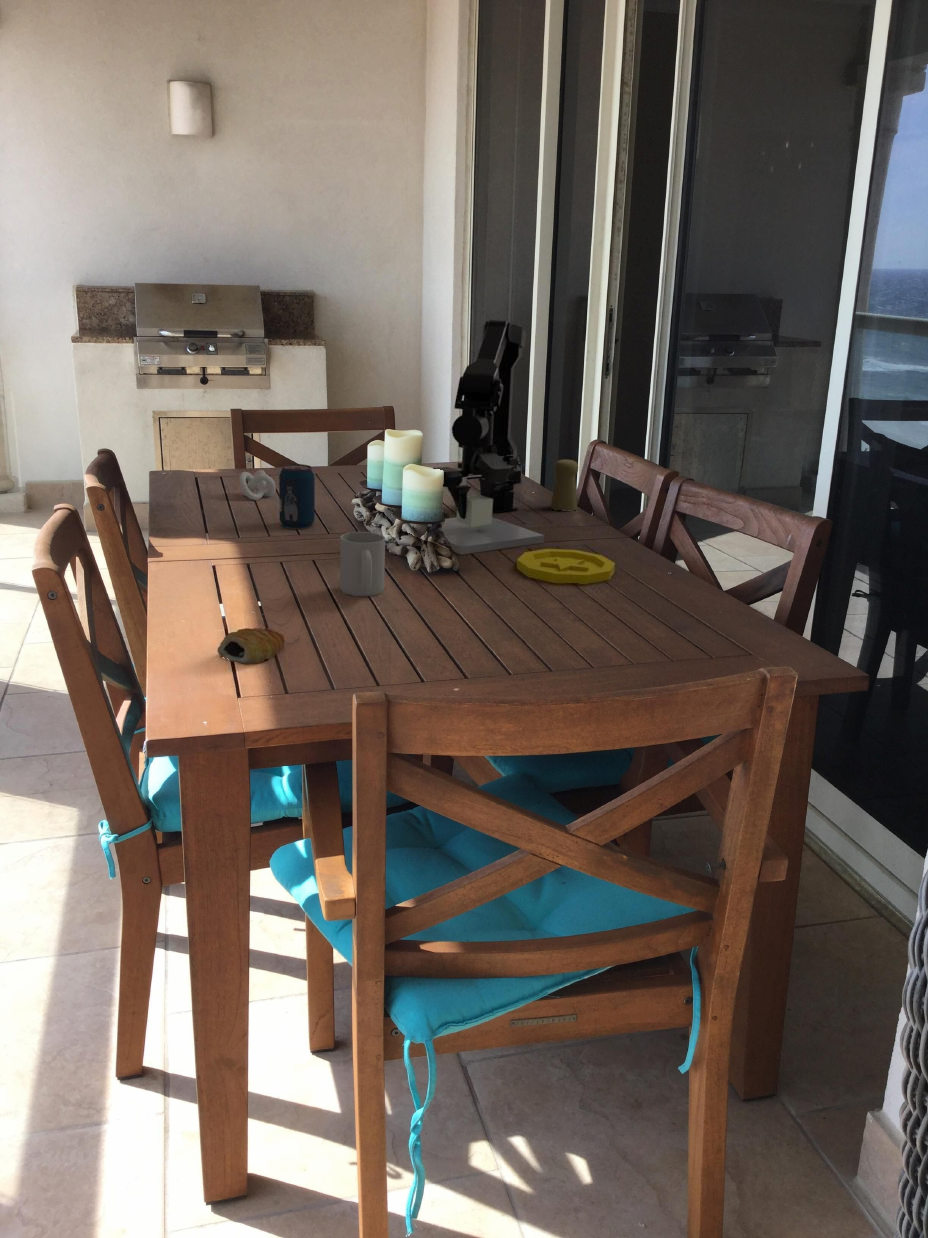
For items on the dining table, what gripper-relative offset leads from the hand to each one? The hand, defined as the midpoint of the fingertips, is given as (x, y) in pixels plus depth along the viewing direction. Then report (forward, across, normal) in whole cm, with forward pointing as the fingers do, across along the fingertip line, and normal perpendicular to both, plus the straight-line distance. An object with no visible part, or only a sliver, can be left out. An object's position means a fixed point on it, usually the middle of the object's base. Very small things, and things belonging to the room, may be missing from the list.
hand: (473, 517), depth 207 cm
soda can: (+4, -27, +23) cm, 36 cm away
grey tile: (+4, 0, 0) cm, 4 cm away
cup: (+4, -38, -22) cm, 44 cm away
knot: (+4, -23, +51) cm, 56 cm away
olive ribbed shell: (+4, -65, -39) cm, 76 cm away
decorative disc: (+5, +1, -27) cm, 27 cm away
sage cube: (+1, 0, 0) cm, 1 cm away
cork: (+4, +34, +12) cm, 36 cm away
